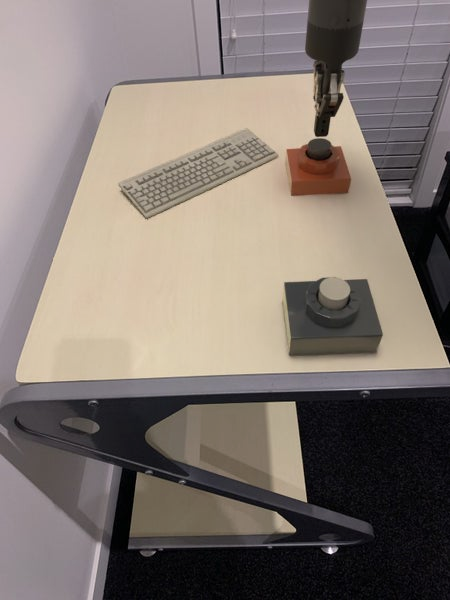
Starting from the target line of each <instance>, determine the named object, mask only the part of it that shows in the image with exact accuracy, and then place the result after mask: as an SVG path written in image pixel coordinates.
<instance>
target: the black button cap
mask: <svg viewBox="0 0 450 600" xmlns="http://www.w3.org/2000/svg"><path fill="white" fill-rule="evenodd" d="M307 144H308V148H307V157H308V158H310V159H312V160H316V161H321V160H326V159H329V157H330V154H331V147H332V145H333V143H332V142H331V141H330V140H328V139H326V138H324V137H316V138H313V139H310V140H309V141H308V143H307Z"/></svg>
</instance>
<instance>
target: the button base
mask: <svg viewBox="0 0 450 600" xmlns="http://www.w3.org/2000/svg"><path fill="white" fill-rule="evenodd" d="M307 148H308V143H305V144H303V145H302V146H301V147H298V148H297V147H296V148H286V149H285V169H286V175H287V181H288V186H289V193H290V196H291V197H293V196H311V195H312V196H314V195H315V196H317V195H333V194H335V195H336V194H349V191H350V187H351V183H352V177H351V174H350V171H349V170H350V169H349V166H348V163H347V161H346V158H345V155H344V152H343V148H342V146H341V145H336V146H334V145H333V144H332V147H331V154H330V157H329V159H326V160H321V161H316V160H312V159H310V158H308V157H307Z"/></svg>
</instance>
